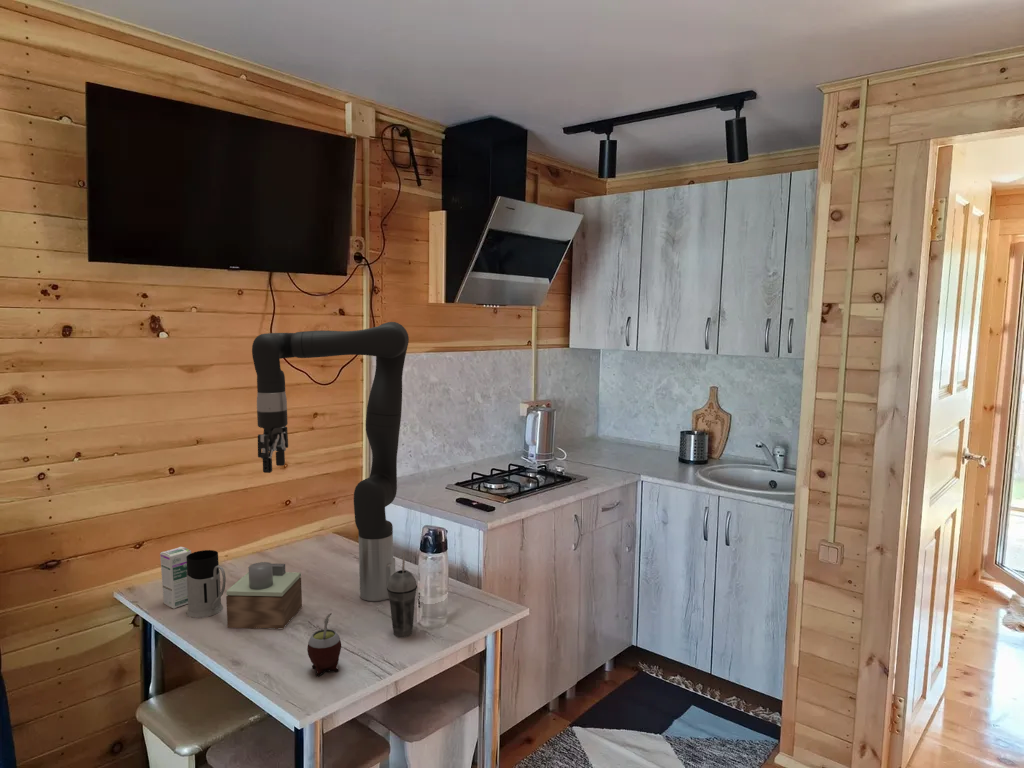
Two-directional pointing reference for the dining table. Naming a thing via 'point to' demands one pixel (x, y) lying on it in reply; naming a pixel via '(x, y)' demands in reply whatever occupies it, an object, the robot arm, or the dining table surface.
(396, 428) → the robot arm
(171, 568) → the syrup box
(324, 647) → the mate gourd
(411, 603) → the beverage cup
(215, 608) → the glass holder
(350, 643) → the dining table surface
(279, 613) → the storage box
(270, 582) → the grey rounded cylinder
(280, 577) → the lid
